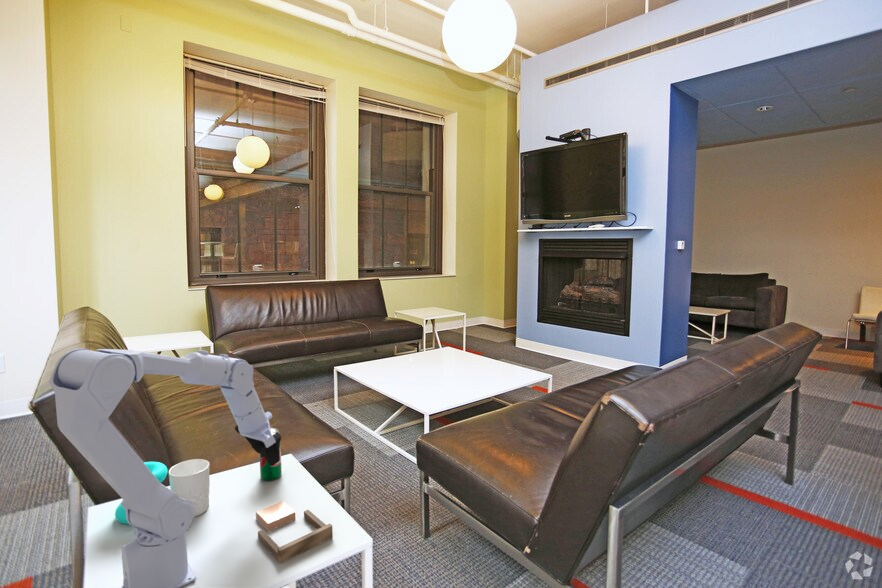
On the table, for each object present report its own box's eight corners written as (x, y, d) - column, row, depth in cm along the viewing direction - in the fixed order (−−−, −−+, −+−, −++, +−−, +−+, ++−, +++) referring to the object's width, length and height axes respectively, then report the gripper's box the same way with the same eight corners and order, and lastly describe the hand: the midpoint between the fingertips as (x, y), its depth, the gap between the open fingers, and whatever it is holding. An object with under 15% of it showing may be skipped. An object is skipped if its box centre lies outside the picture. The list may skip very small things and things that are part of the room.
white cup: (169, 508, 103) (166, 465, 101) (207, 496, 107) (205, 455, 106) (174, 525, 96) (171, 480, 95) (215, 512, 101) (212, 469, 100)
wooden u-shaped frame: (280, 563, 85) (279, 550, 85) (258, 538, 92) (257, 526, 92) (332, 537, 93) (332, 525, 92) (308, 516, 100) (307, 505, 99)
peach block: (268, 532, 95) (268, 523, 94) (256, 520, 99) (255, 511, 99) (295, 520, 99) (295, 512, 99) (282, 509, 103) (282, 501, 103)
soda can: (274, 482, 113) (272, 436, 112) (256, 480, 114) (254, 434, 113) (285, 473, 118) (284, 428, 117) (267, 471, 119) (266, 426, 118)
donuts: (171, 471, 99) (114, 487, 92) (173, 515, 100) (118, 533, 94) (162, 455, 106) (110, 468, 100) (165, 495, 108) (113, 511, 101)
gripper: (279, 410, 93) (299, 458, 99) (249, 384, 103) (268, 430, 109) (247, 430, 89) (269, 479, 95) (218, 402, 99) (240, 448, 105)
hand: (267, 454), depth 102 cm, fingers open, 7 cm apart
